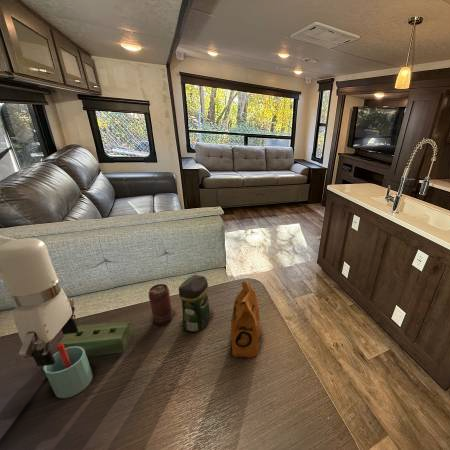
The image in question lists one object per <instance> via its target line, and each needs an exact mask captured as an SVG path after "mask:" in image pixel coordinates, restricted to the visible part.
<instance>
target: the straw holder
mask: <svg viewBox="0 0 450 450" xmlns="http://www.w3.org/2000/svg"><path fill="white" fill-rule="evenodd" d="M131 326H132V325H131V322H130V320H127V321H117V322H116V321H115V322H105V323H95V324H83V325H77V328H78V332H77V333H71V334H64V336H63V337H62V339H61V340H60V341H59V343H63V345H64V348H68V347H74V346H78V347H82V348H83V349H84V350H85V353H86V356H87V358H88V357H96V356H104V355H113V354H120V353H125V352H126V349H127V348H128V345H129V344H130V341H131V339H132V336H133V335H134V334H133V330H132V327H131Z"/></svg>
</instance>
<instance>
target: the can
mask: <svg viewBox="0 0 450 450" xmlns="http://www.w3.org/2000/svg"><path fill="white" fill-rule="evenodd" d="M169 288H170V287H169V286H168V285H167V284H164V283H158V284H155V285H153V286H151V287H150V289H149V292H148V299H149V303H150V308H151V314H152V318H153V323H154V324H155V325H157V326H165V325H168V324H169V323H170V322H171V321H172V319H173V318H174V314H173V307H172V301H171V296H170V295H171V294H170V293H171V292H170V289H169Z"/></svg>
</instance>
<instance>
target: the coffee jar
mask: <svg viewBox="0 0 450 450" xmlns="http://www.w3.org/2000/svg"><path fill="white" fill-rule="evenodd" d="M208 291H209V283H208V279H207V278H206V277H205V276H203V275H199V274H193V275H191V276H189V277H188V278H187V279H185V280H184V281H183V282H182V283H181V284H180V285H179V287H178V297H179V298H180V300H181V308H182V323H183V324H182V325H183V328H184V330H185V331H188V332H199V331H202V330H203V329H204V328H205V327H206V326H207V324H208V323H209V321H210V319H211V317H212V316H211V308H210V301H209V293H208Z"/></svg>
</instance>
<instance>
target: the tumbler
mask: <svg viewBox="0 0 450 450" xmlns="http://www.w3.org/2000/svg"><path fill="white" fill-rule="evenodd" d="M65 350H66V353H67V355H68V358H69V360H70V363H71V365H72V366H70V367H69V368H67V369H65V366H64V364H63V361H62V359H61V356H60V354H59V352H58V351H56V352H55V353H53V356H54V359H55V363H54V364H53V365H46V366H42V370H43V372H44V374H45V377H46V378H47V381H48V383H49V385H50V387H51V389H52V392H53V393H54V395H55V396H56V398H58V399H68V398H71V397H74V396H76V395H78V394H79V393H81V392H83V391H84V390H85V389H86V388H87V387H88V386H89V385H90V384H91V382H92V380H93V377H94V374H93V369H92V367H91V365H90V362H89V359H88V357H87V356H86V353H85V350H84V349H83V348H82V347H78V346H74V347H68V348H65Z"/></svg>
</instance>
